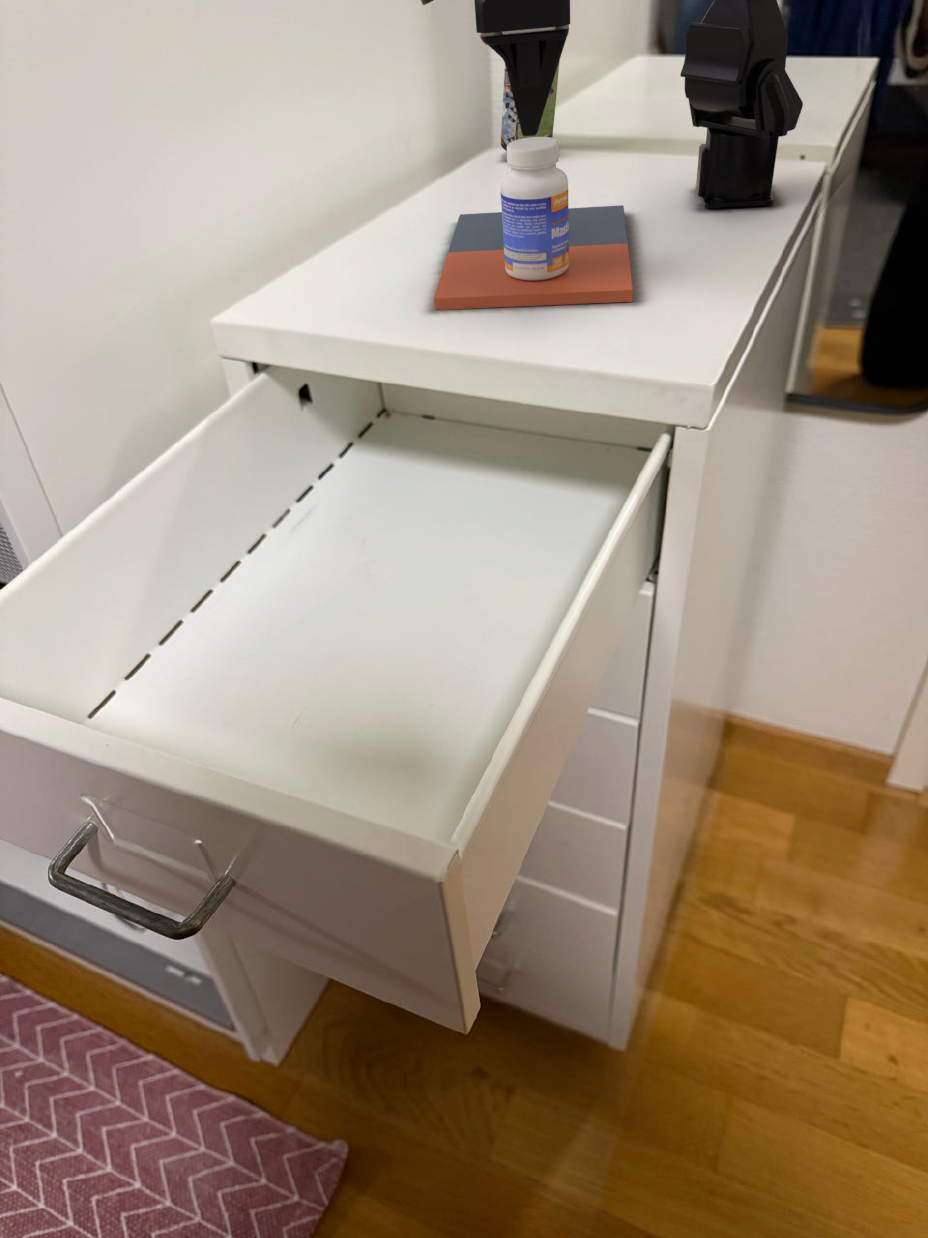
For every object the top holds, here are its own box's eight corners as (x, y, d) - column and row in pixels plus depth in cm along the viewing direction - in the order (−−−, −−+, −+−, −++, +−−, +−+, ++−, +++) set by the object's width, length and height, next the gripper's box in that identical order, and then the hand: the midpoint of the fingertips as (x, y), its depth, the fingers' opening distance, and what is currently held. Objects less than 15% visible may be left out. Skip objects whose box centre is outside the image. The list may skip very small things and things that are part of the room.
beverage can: (518, 146, 108) (514, 29, 100) (571, 150, 104) (571, 30, 96) (490, 160, 104) (483, 40, 96) (543, 165, 101) (541, 42, 93)
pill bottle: (565, 282, 72) (564, 151, 65) (499, 282, 73) (492, 154, 66) (572, 257, 75) (572, 132, 69) (510, 258, 77) (504, 134, 70)
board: (623, 215, 85) (623, 204, 85) (632, 301, 70) (633, 289, 69) (460, 224, 88) (459, 214, 87) (434, 310, 72) (433, 298, 71)
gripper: (420, -133, 67) (442, 100, 77) (382, -121, 53) (415, 161, 63) (568, -151, 65) (570, 89, 76) (569, -143, 51) (571, 149, 62)
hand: (531, 119), depth 69 cm, fingers open, 9 cm apart
